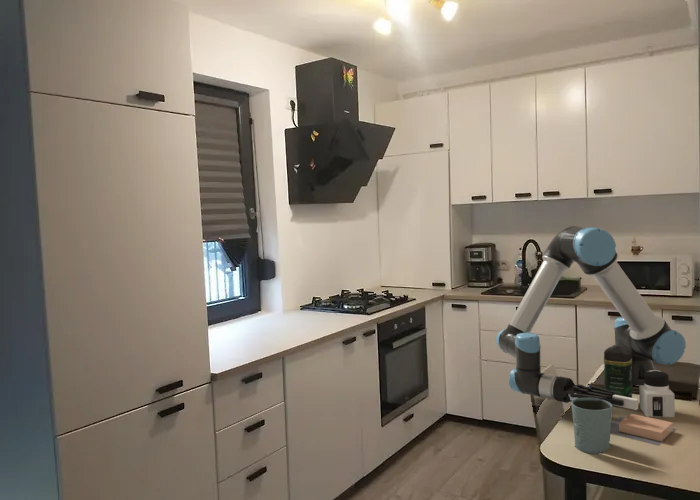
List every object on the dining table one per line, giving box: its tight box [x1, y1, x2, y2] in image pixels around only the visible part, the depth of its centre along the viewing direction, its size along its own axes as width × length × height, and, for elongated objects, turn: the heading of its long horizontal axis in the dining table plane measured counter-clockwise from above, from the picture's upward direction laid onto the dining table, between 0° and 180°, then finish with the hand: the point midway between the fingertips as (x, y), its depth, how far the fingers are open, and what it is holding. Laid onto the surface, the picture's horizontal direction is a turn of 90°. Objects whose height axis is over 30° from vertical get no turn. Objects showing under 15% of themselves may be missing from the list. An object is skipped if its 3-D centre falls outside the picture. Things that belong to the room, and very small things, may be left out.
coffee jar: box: [603, 344, 633, 408], centre depth 185 cm, size 10×8×19 cm
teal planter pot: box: [570, 398, 614, 455], centre depth 155 cm, size 10×10×12 cm
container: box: [638, 369, 676, 418], centre depth 175 cm, size 8×8×13 cm
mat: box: [610, 416, 677, 446], centre depth 163 cm, size 14×16×1 cm
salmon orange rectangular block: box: [619, 413, 674, 441], centre depth 162 cm, size 9×3×11 cm
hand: (637, 404), depth 163 cm, fingers closed
